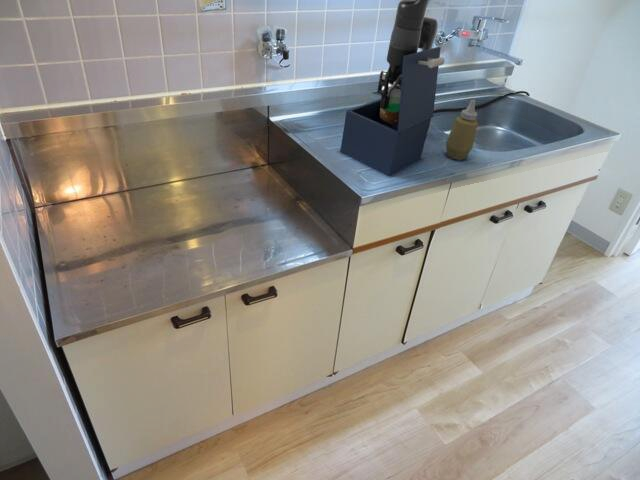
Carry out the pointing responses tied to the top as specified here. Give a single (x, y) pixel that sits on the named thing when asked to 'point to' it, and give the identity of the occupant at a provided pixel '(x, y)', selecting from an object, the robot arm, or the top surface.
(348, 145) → the dish tub
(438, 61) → the tub lid
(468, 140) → the squeeze bottle
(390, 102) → the food container
